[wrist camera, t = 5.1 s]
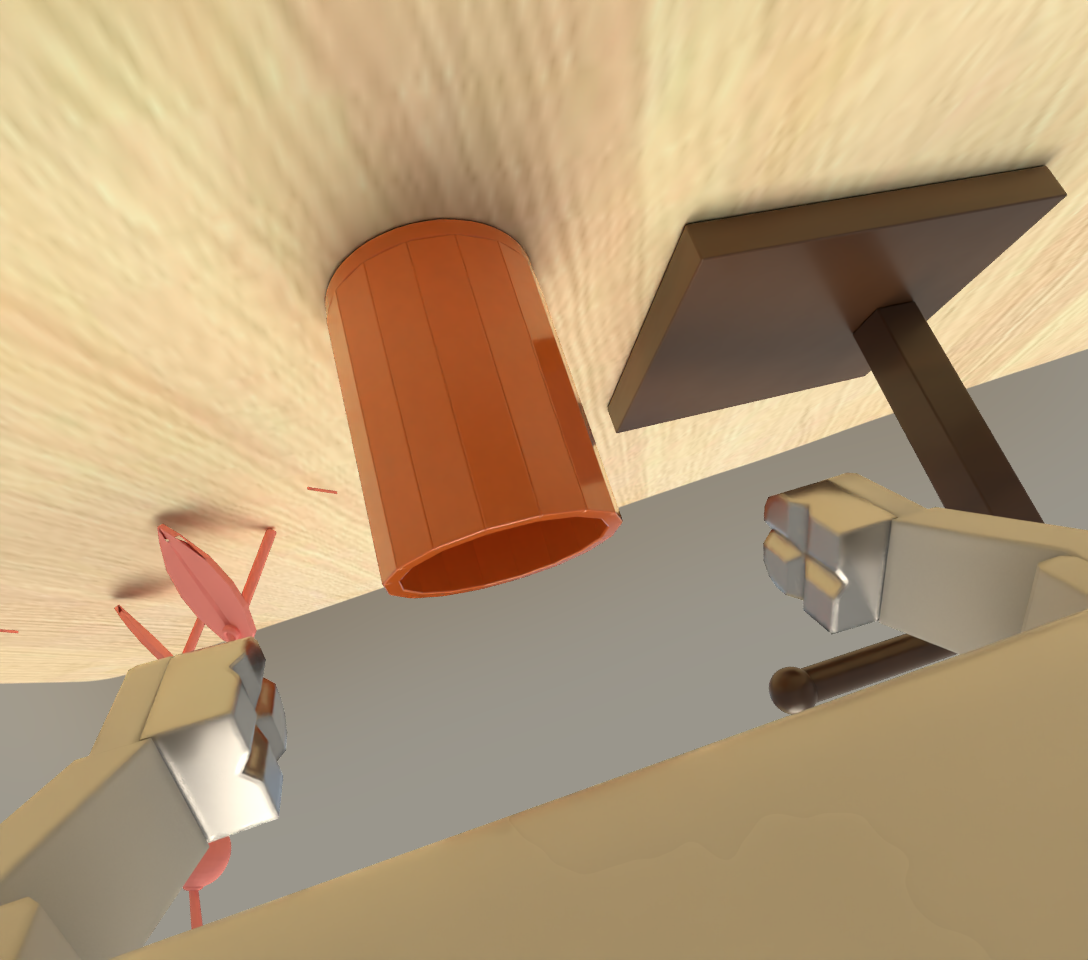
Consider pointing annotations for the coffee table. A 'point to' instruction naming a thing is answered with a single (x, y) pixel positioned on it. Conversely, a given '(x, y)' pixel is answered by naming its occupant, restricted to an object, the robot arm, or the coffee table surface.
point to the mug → (462, 412)
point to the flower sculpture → (223, 615)
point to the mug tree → (841, 344)
